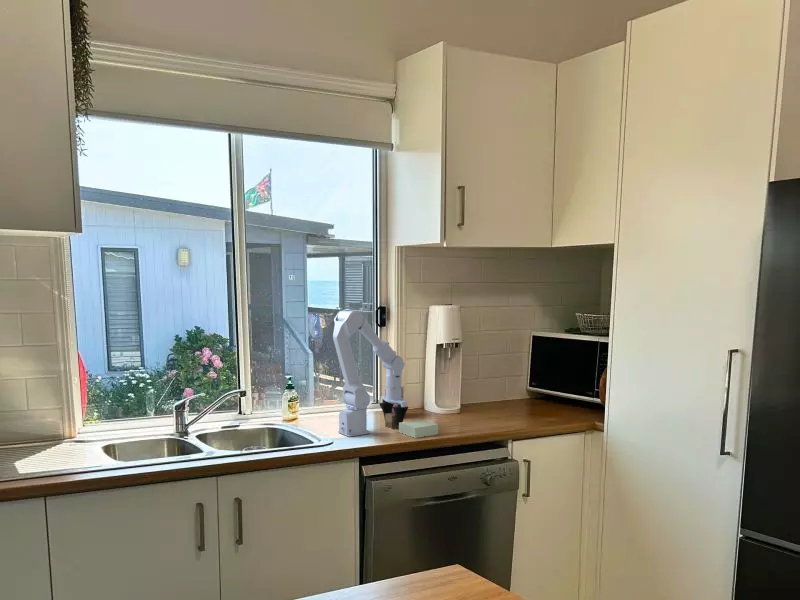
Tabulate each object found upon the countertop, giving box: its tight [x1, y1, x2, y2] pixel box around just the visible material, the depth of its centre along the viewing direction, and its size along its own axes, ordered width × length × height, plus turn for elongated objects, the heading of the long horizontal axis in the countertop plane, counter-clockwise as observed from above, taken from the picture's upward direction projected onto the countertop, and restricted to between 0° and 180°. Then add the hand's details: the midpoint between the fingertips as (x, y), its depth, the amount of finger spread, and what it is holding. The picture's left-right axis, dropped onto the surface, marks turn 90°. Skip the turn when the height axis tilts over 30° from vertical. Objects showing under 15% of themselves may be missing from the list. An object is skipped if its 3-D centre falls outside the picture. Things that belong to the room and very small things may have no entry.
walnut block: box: [384, 412, 399, 430], centre depth 224 cm, size 4×4×5 cm
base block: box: [398, 419, 439, 439], centre depth 214 cm, size 10×10×4 cm
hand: (393, 423), depth 224 cm, fingers open, 7 cm apart
